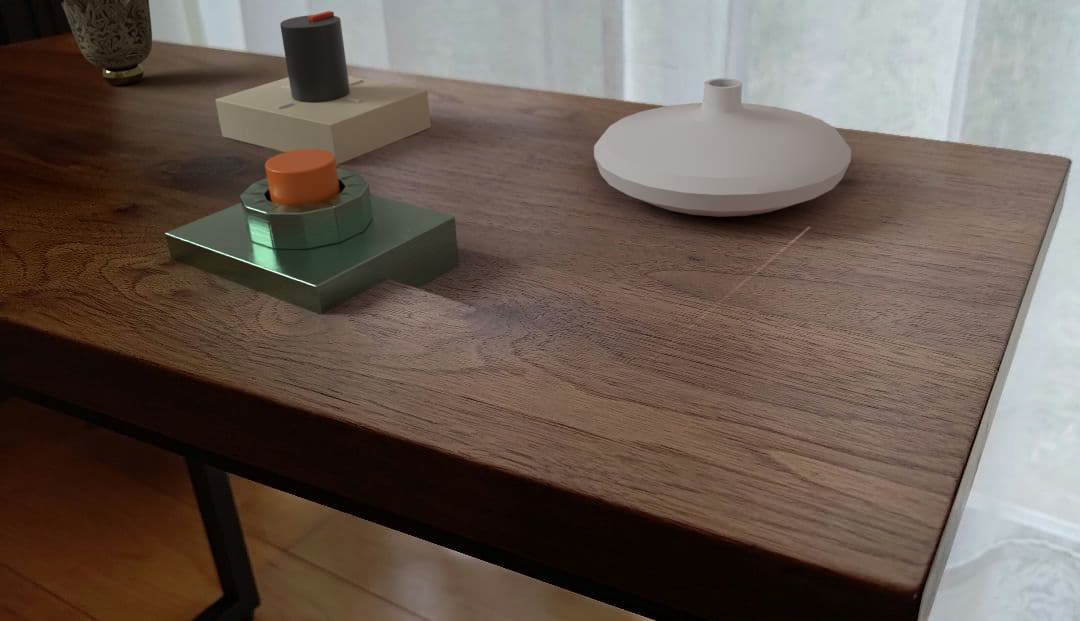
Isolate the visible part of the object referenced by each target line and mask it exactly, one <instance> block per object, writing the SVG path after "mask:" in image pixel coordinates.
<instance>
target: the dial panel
mask: <svg viewBox="0 0 1080 621" xmlns="http://www.w3.org/2000/svg"><path fill="white" fill-rule="evenodd" d="M348 81H349V88H350V92H349V94H347V95H346V96H344V97H341V98H338V99H334V100H329V101H321V102H303V101H298V100H295V99H293V98H292V95H291V89H290V82H289V76H287V77H284V78H281V79H277V80H274V81H272V82H268V83H265V84H261V85H257V86H255V87H251V88H248V89H245V90H242V91H237V92H235V93H233V94H232V93H231V94H229V95H225V96H221V97H218V98H215V107H216V111H217V116H218V121H219V126H220V132H221V136H222V137H223V138H227V139H231V140H235V141H239V142H243V143H247V144H251V145H254V146H258V147H262V148H265V149H266V148H267V149H270V150H275V151H279V152H283V153H285V152H289V151H295V150H303V149H317V150H324V151H328V152H331V153H332V154H333V155H334V156H335V161H336V166H337V165H340V164H343V163H345V162H348V161H351V160H353V159H356V158H357V157H361V156H363V155H365V154H368V153H370V152H373V151H375V150H378V149H380V148H382V147H386V146H388V145H390V144H393V143H396V142H397V141H398V142H399V141H400V140H402V139H406V138H408V137H411V136H413V135H416V134H417V133H421V132H424V131H425V130H428V129H430V128H431V127H432V126H431V124H432V123H431V114H430V105H429V104H430V103H429V95H428V94H429V93H428V90H427V89H422V88H418V87H411V86H406V85H401V84H395V83H389V82H385V81H378V80H373V79H367V78H362V77H356V76H351V75H348Z"/></svg>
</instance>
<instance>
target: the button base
mask: <svg viewBox="0 0 1080 621" xmlns="http://www.w3.org/2000/svg"><path fill="white" fill-rule="evenodd" d="M337 174H338V181H339V188H340V193H339V194H338V195H335V196H333V197H331V198H328V199H326V200H324V201H319V202H314V203H308V204H303V205H281V204H278V203H274V202H272V201H271V197H270V191H269V186H268V180H267V177H265V178H263V179H260V180H258V181H256V182H253V183H252V184H250V185H249V187H247V188H246V189H245V190H244V191H243V192H242V193H241V194H240V203H237V204H234V205H231V206H229V207H227V208H224V209H222V210H219V211H216V212H214V213H212V214H209V215H206V216H204V217H202V218H199V219H196V220H194V221H191V222H189V223H186V224H184V225H182V226H180V227H176V228H174V229H172V230H169V231H167V232H165V233H164V235H165V239H166V244H167V249H168V252H169V256H170V259H171V260H173V261H176V262H178V263H181V264H184V265H186V266H189V267H191V268H194V269H197V270H200V271H202V272H205V273H208V274H210V275H212V276H216V277H218V278H220V279H222V280H223V279H224V280H227V281H229V282H232V283H234V284H237V285H240V286H242V287H245V288H248V289H250V290H252V291H255V292H259V293H261V294H264V295H266V296H269V297H272V298H273V299H274V298H275V299H277V300H280V301H283V302H285V303H287V304H291V305H294V306H295V307H298V308H300V309H304V310H306V311H308V312H309V311H310V312H312V313H315V314H317V315H323V314H325V313H327V312H329V311H331V310H333V309H335V308H336V307H338V306H340V305H342V304H344V303H346V302H348V301H349V300H352V299H353V298H355V297H357V296H359V295H361V294H362V293H364V292H367V291H368V290H370V289H372V288H373V287H376V286H377V285H379V284H382V283H383V282H384V281H387V280H390V281H393V282H396V283H400V284H401V285H406V286H409V287H412V288H414V289H419V288H421V287H423V286H425V285H427V284H429V283H430V282H433V281H434V280H436V279H438V278H439V277H441V276H443V275H444V274H446V273H448V272H451V271H452V270H454V269H455V268H457V267H459V266H460V260H459V248H458V236H457V227H456V226H457V225H456V216H455V215H451V214H447V213H444V212H440V211H437V210H432V209H429V208H425V207H421V206H418V205H414V204H410V203H407V202H402V201H399V200H395V199H391V198H387V197H383V196H381V195H377V194H372V193H371V192H370V185H369V183H368V181H367V180H366V179H365V178H364V177H363V175H362V174H361V173H358V172H353V171H350V170H347V169H343V168H337ZM453 268H454V269H453Z"/></svg>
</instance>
